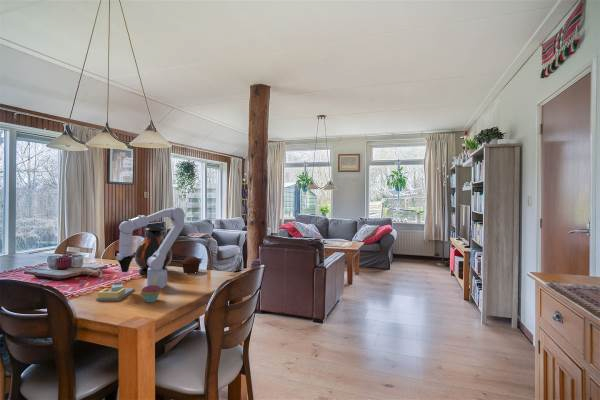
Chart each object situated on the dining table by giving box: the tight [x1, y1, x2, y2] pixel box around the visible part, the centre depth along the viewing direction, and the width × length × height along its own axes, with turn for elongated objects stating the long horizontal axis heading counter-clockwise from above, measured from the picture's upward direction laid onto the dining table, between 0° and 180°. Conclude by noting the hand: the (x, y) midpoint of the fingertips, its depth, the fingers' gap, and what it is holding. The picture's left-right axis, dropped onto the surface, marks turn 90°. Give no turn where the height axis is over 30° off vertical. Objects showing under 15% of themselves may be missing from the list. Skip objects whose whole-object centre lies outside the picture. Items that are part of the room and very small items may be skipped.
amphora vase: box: [134, 226, 173, 275], centre depth 200 cm, size 22×22×28 cm
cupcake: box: [140, 274, 162, 303], centre depth 146 cm, size 9×8×12 cm
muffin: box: [181, 255, 201, 274], centre depth 203 cm, size 12×11×10 cm
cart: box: [110, 281, 124, 292], centre depth 153 cm, size 6×4×4 cm
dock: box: [96, 287, 135, 302], centre depth 152 cm, size 10×16×4 cm, turn 5°
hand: (124, 271), depth 160 cm, fingers closed
